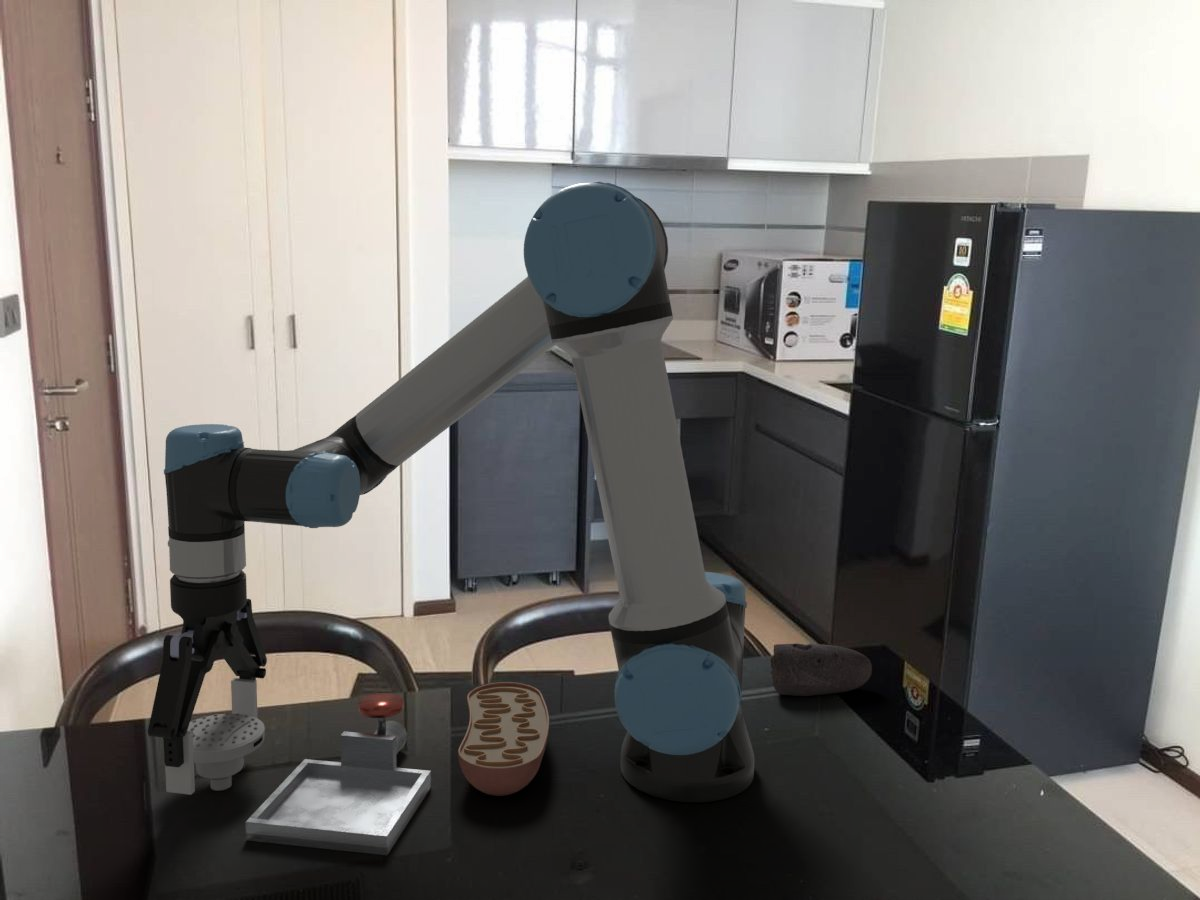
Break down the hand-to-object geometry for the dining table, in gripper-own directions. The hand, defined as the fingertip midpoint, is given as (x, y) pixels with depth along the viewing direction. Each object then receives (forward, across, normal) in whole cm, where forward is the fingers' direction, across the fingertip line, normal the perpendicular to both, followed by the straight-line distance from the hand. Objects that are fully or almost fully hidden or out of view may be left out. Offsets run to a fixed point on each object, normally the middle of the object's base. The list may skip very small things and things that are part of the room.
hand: (214, 761), depth 113 cm
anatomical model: (+3, -12, +30) cm, 32 cm away
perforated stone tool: (+2, -39, +66) cm, 77 cm away
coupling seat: (+3, -1, +16) cm, 16 cm away
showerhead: (+3, 0, 0) cm, 3 cm away
